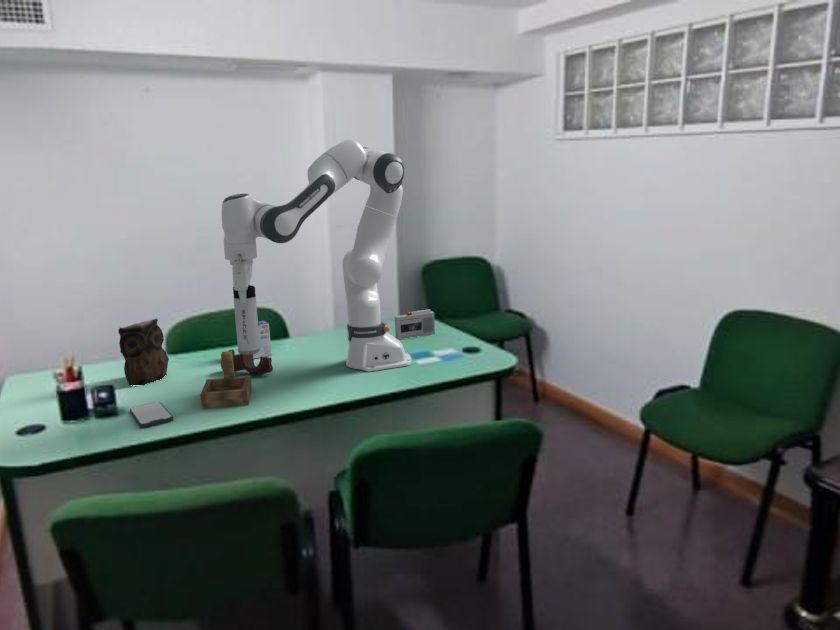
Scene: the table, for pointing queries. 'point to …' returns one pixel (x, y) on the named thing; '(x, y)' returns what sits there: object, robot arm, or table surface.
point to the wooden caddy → (226, 387)
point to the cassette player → (415, 324)
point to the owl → (143, 352)
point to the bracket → (251, 364)
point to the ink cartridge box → (263, 340)
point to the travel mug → (247, 322)
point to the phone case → (150, 415)
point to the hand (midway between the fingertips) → (244, 299)
